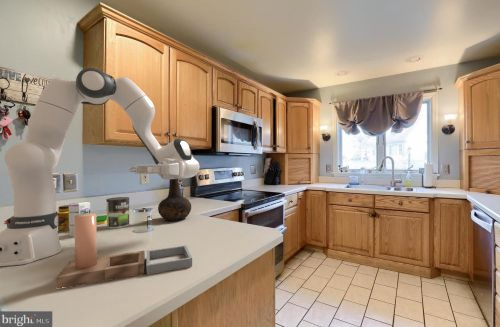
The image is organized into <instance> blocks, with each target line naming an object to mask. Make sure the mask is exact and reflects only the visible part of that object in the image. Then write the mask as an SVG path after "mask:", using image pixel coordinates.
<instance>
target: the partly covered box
mask: <svg viewBox="0 0 500 327" xmlns="http://www.w3.org/2000/svg"><path fill="white" fill-rule="evenodd" d="M145 252H146V251H145V250H139V251H138V250H137V251H134V252H133V251H131V252H125V253H118V254H110V255H104V256H97V264H96V265H95V266H93V267H90V268H86V269H76V268H75V260H70V261H69V262H68V263H67V264H66V265H65V266H64V268H63V269H61V271H60V272H59V274H58V275H57V276H56V281H55V282H56V286H55V287H56V288H62V287H67V288H71V287H70V286H73V287H77V286H76V285H79V286H83V284H84V285H89V284H95V283H100V282H106V281H112V280H116V279H122V278H129V277H135V276H139V275H145V264H146V262H145V261H146V260H145ZM62 289H63V288H62Z"/></svg>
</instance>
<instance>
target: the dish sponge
mask: <svg viewBox="0 0 500 327" xmlns="http://www.w3.org/2000/svg"><path fill="white" fill-rule="evenodd" d="M105 224H107V214H106V215H105V214H104V215H96V225H105Z"/></svg>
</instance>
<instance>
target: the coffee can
mask: <svg viewBox="0 0 500 327" xmlns="http://www.w3.org/2000/svg"><path fill="white" fill-rule="evenodd" d="M105 200H106V215H107V223H106V229H123V228H126V227H129V226H130V197H129V196H117V197H116V196H115V197H110V198H106V199H105Z"/></svg>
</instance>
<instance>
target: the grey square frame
mask: <svg viewBox="0 0 500 327" xmlns="http://www.w3.org/2000/svg"><path fill="white" fill-rule="evenodd" d="M177 255H184V256H185V258H184V257H183V258H178V259H173V260H166V261H161V262H154V263H150V262H151V260H153V259H157V258H158V259H159V258H163V257H164V258H165V257H170V256H171V257H172V256H177ZM152 258H153V259H152ZM191 267H193V257H192V255H191V253H190V251H189V248H188V246H187V245H185V244H184V245H179V246H172V247H165V248H159V249H158V248H157V249H151V250H146V275H151V274H152V275H153V274H159V273H165V272H169V271H173V270H175V271H176V270H180V269H186V268H187V269H188V268H191Z"/></svg>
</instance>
